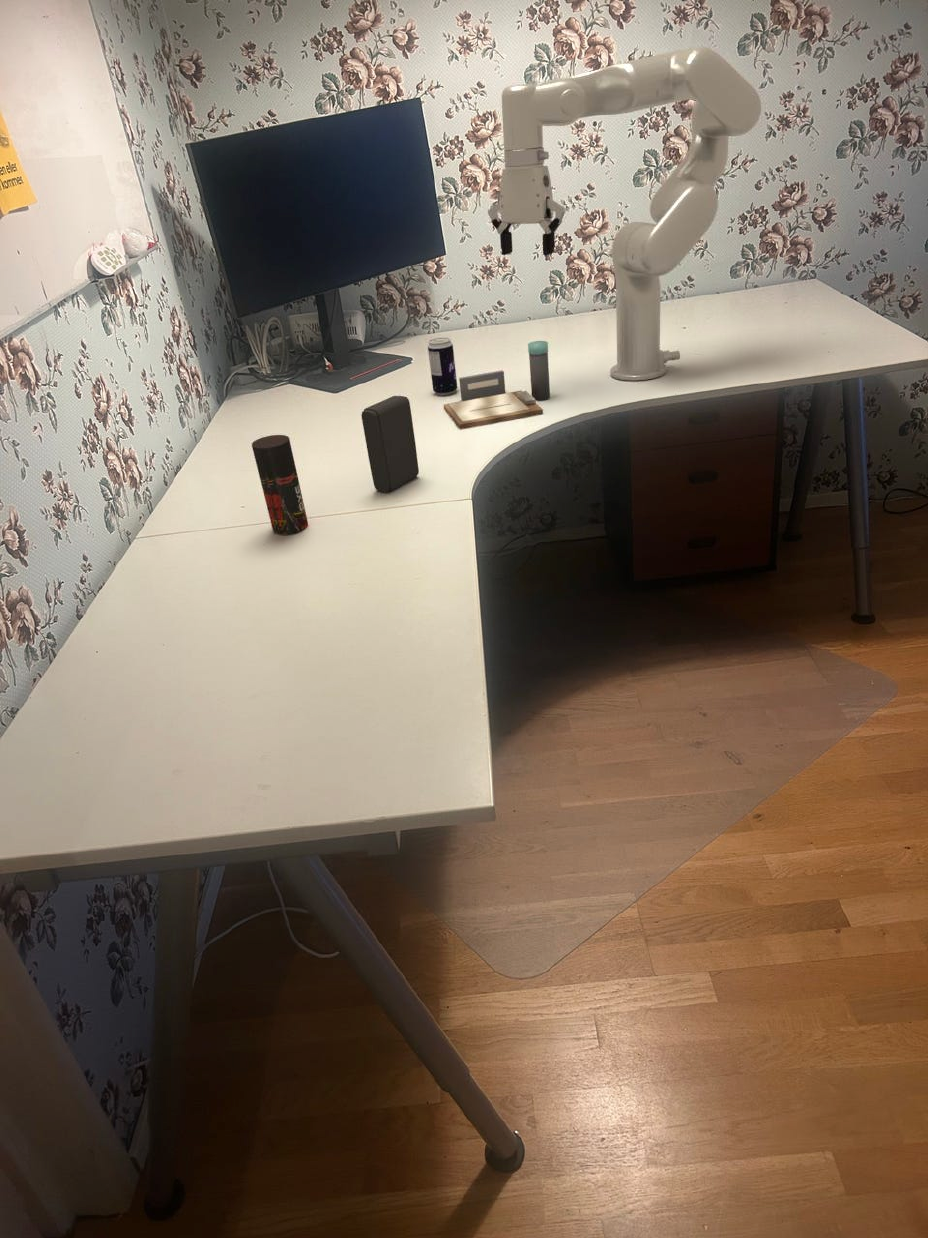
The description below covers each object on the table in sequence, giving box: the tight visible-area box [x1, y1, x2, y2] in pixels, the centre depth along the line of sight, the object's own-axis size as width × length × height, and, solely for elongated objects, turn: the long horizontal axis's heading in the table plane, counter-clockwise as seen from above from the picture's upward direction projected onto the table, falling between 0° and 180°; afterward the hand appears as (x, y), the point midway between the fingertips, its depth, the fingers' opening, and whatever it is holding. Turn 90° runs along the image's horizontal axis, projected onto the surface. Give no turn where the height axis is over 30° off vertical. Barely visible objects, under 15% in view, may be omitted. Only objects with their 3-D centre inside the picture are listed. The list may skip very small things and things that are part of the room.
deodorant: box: [251, 434, 309, 536], centre depth 138 cm, size 6×6×15 cm
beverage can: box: [427, 337, 458, 397], centre depth 194 cm, size 6×6×12 cm
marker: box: [527, 340, 551, 402], centre depth 183 cm, size 4×4×12 cm
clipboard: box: [442, 390, 544, 430], centre depth 182 cm, size 18×15×2 cm
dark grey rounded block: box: [361, 395, 420, 493], centre depth 149 cm, size 9×4×15 cm, turn 141°
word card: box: [458, 370, 506, 401], centre depth 190 cm, size 10×1×5 cm, turn 103°
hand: (527, 253), depth 174 cm, fingers open, 9 cm apart
